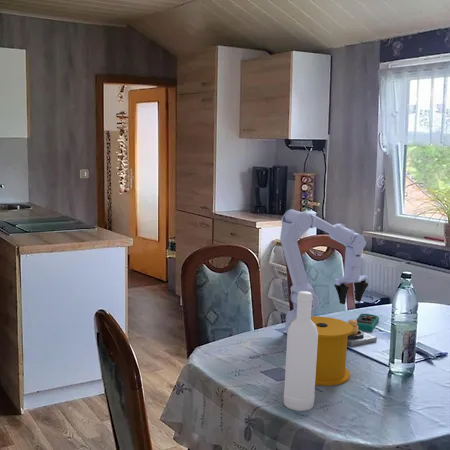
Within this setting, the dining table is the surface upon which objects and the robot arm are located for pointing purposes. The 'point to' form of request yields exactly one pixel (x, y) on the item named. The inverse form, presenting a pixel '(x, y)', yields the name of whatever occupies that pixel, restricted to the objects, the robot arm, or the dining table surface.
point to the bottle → (301, 357)
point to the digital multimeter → (367, 322)
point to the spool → (331, 350)
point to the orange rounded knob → (354, 326)
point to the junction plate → (360, 339)
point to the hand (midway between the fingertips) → (350, 302)
